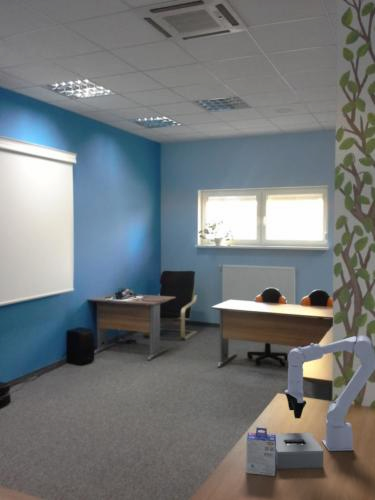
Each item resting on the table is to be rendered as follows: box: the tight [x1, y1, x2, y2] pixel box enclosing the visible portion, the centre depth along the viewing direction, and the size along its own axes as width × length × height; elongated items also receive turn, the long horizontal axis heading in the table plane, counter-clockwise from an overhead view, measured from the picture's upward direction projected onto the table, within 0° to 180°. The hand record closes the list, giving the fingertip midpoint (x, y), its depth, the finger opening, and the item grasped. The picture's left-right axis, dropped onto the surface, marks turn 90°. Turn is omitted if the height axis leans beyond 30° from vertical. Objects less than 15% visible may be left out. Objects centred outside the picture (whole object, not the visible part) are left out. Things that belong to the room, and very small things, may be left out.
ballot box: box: [272, 432, 324, 470], centre depth 169 cm, size 16×14×6 cm
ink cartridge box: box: [246, 427, 277, 477], centre depth 160 cm, size 10×6×14 cm, turn 78°
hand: (294, 413), depth 183 cm, fingers open, 7 cm apart
